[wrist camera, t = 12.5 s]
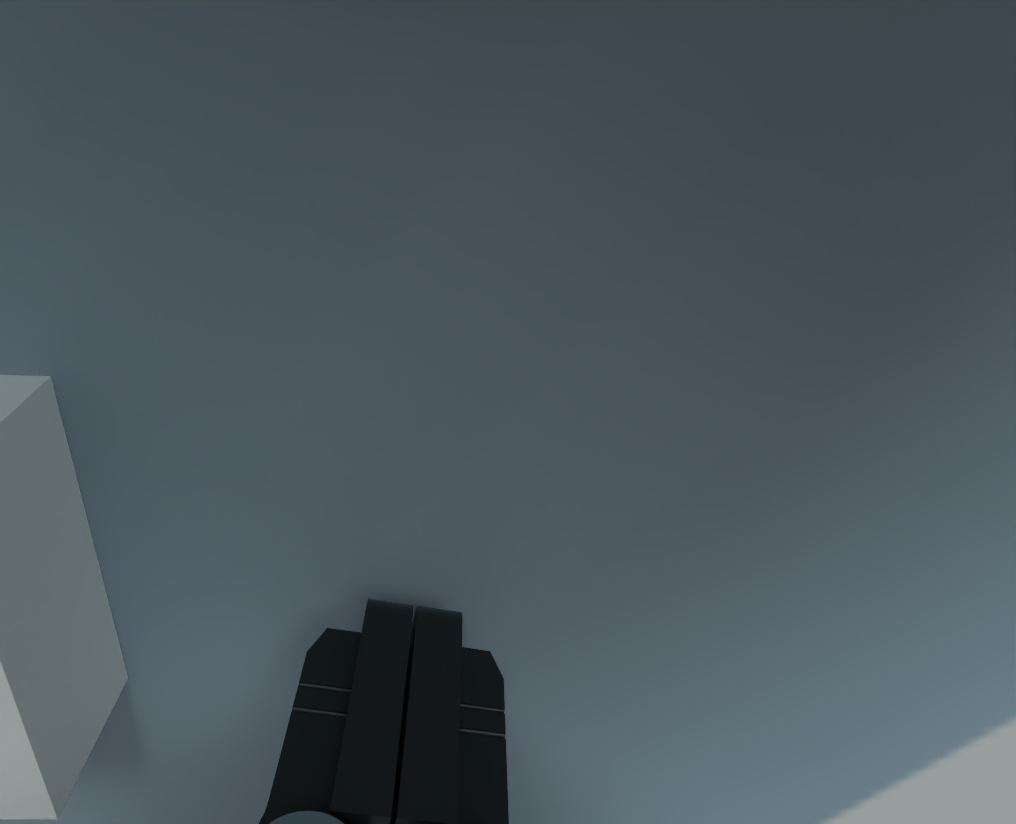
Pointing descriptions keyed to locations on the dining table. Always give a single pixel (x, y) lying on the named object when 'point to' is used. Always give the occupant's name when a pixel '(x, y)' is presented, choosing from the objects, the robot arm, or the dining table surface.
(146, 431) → the dining table surface
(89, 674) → the pale grey tile
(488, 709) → the robot arm
